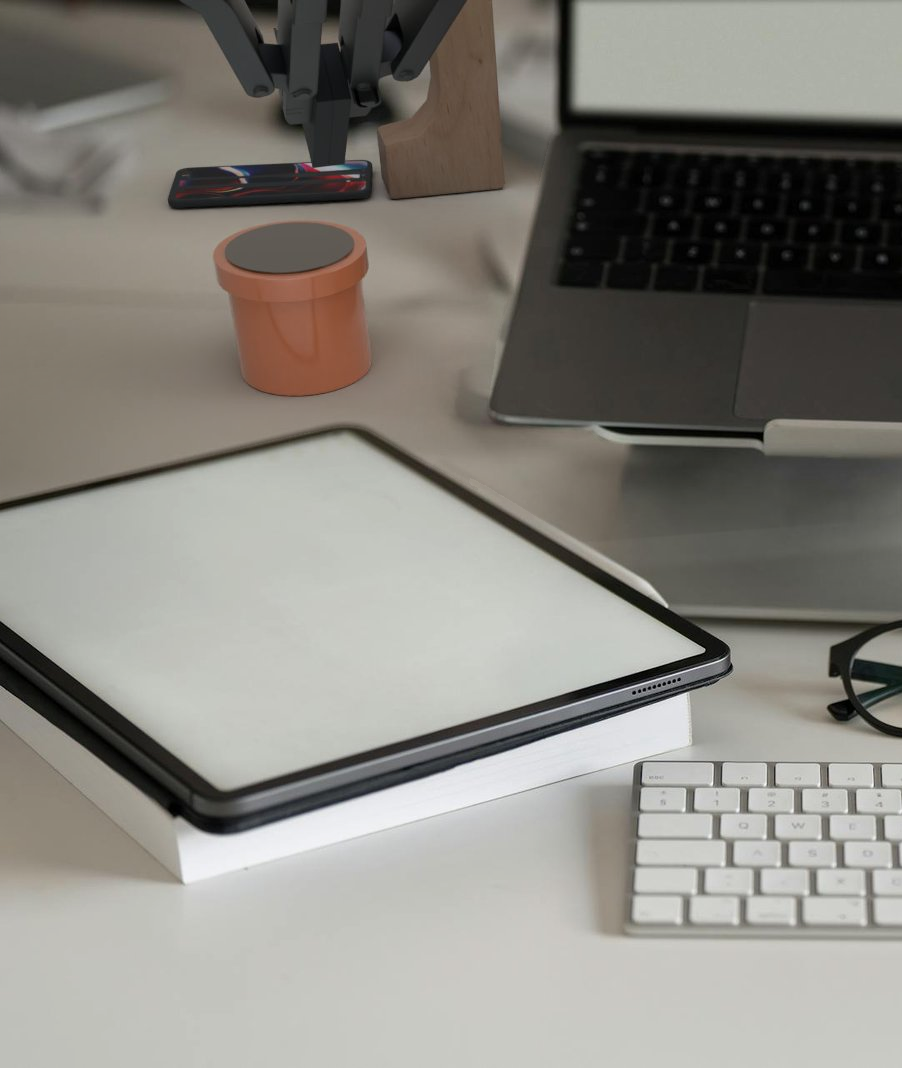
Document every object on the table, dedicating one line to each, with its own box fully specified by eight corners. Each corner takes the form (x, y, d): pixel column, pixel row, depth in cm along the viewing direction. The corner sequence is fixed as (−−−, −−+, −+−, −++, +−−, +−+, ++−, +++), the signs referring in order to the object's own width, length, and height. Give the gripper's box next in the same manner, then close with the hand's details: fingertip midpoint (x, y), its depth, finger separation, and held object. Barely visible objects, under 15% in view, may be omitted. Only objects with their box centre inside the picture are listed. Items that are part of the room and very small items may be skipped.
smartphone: (176, 167, 133) (372, 158, 136) (178, 175, 134) (373, 166, 136) (165, 202, 127) (370, 192, 130) (166, 210, 128) (371, 200, 130)
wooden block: (389, 201, 131) (363, -38, 121) (381, 180, 134) (355, -54, 124) (505, 189, 133) (489, -46, 123) (494, 169, 137) (478, -60, 127)
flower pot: (204, 388, 105) (182, 265, 100) (279, 327, 112) (261, 210, 108) (338, 409, 103) (321, 285, 98) (404, 345, 110) (391, 228, 106)
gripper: (168, -61, 55) (194, 231, 77) (555, -88, 60) (476, 195, 82) (123, -262, 57) (161, 82, 78) (505, -275, 61) (441, 54, 83)
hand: (322, 139), depth 80 cm, fingers closed
